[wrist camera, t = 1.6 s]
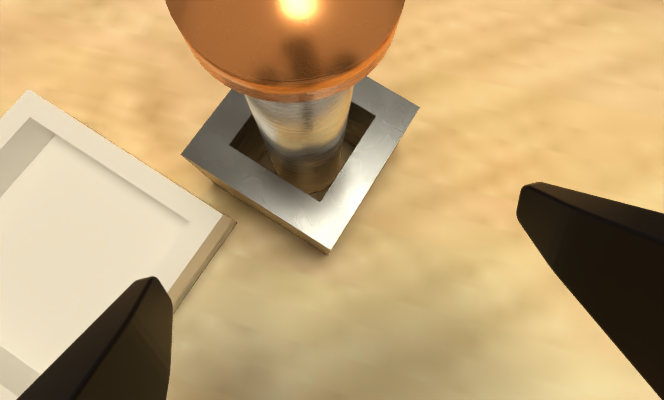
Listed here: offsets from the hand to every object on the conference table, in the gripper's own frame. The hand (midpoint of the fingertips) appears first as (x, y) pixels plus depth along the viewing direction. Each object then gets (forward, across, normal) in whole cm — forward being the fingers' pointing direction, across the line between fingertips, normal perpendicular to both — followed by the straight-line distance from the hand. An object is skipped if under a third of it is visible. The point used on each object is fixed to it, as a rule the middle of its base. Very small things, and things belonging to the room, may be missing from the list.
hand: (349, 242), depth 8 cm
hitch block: (+13, 0, +4) cm, 14 cm away
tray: (+11, +14, +6) cm, 19 cm away
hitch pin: (+13, 0, +4) cm, 14 cm away
